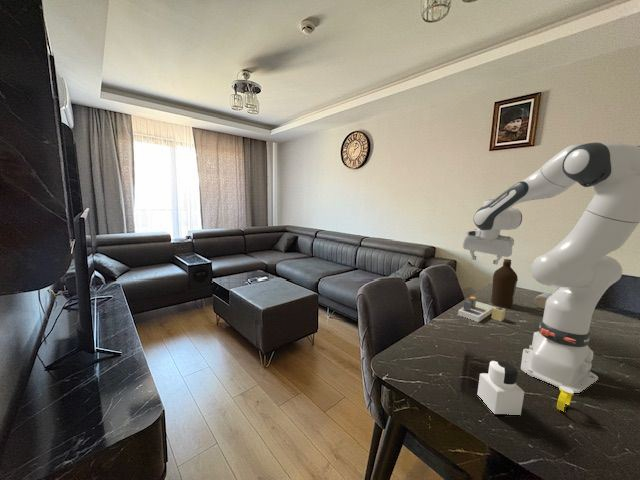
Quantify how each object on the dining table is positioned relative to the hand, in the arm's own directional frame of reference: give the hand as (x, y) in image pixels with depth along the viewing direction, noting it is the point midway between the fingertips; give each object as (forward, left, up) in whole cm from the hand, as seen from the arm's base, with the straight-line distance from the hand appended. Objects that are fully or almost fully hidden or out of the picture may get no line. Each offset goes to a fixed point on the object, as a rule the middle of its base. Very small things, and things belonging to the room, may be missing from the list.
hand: (484, 261), depth 123 cm
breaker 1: (-8, +2, -24) cm, 25 cm away
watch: (-48, -39, -26) cm, 67 cm away
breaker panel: (-2, 0, -26) cm, 26 cm away
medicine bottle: (-61, -28, -26) cm, 72 cm away
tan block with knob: (0, -9, -26) cm, 28 cm away
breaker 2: (-3, +2, -24) cm, 24 cm away
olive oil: (+22, -4, -26) cm, 35 cm away
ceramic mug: (+36, -20, -26) cm, 49 cm away
